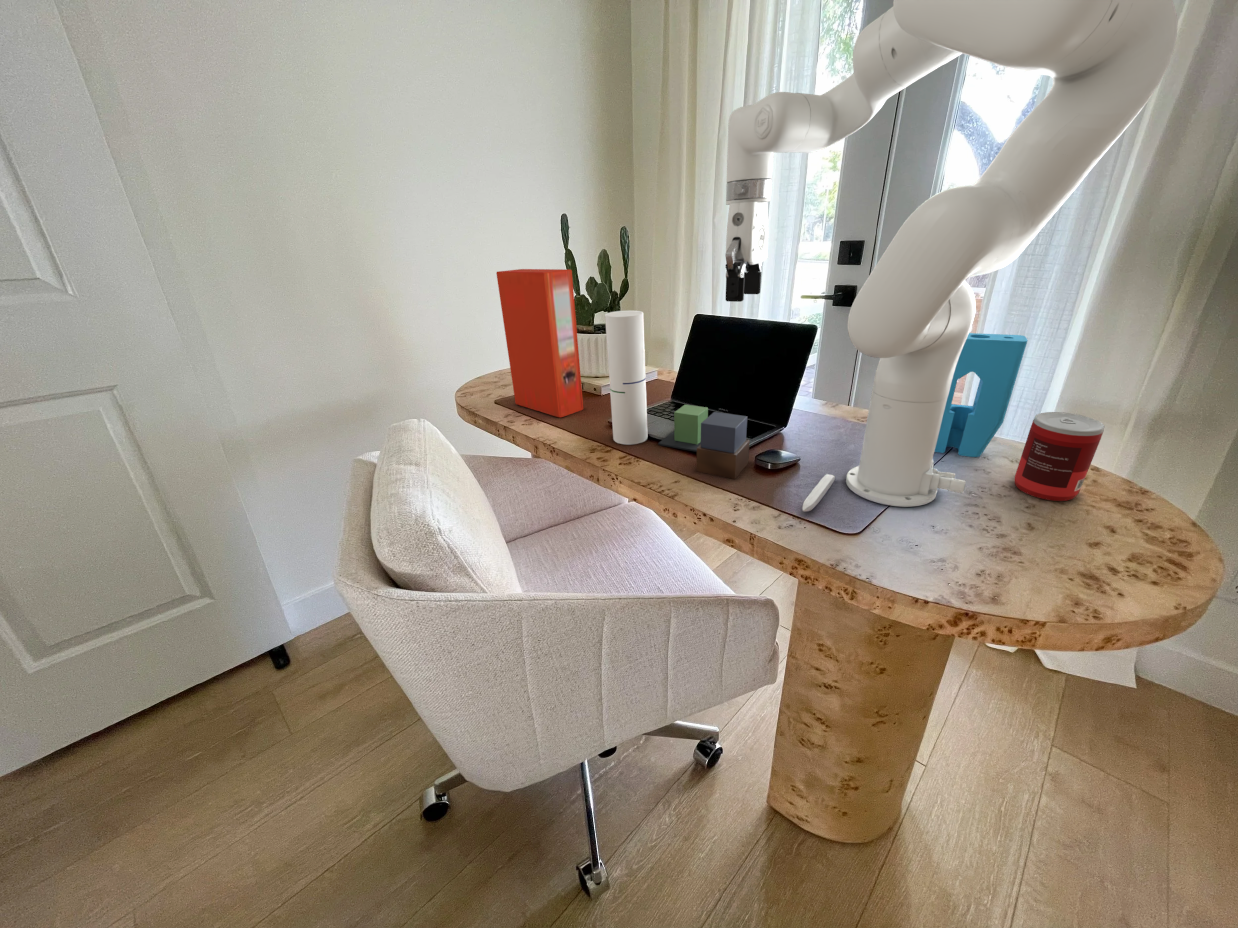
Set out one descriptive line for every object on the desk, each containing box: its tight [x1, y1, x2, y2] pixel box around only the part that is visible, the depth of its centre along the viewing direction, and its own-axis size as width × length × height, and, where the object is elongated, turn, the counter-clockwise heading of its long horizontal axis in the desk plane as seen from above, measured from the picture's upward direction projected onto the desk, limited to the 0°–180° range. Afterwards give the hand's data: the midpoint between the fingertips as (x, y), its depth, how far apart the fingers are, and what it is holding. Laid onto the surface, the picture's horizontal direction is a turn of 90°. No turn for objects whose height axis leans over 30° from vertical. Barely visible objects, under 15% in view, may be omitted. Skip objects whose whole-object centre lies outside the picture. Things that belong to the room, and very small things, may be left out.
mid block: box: [701, 411, 748, 453], centre depth 84 cm, size 6×6×4 cm
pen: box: [801, 473, 836, 512], centre depth 75 cm, size 2×14×2 cm, turn 143°
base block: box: [696, 438, 751, 480], centre depth 86 cm, size 7×7×4 cm
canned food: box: [1014, 411, 1105, 502], centre depth 72 cm, size 8×8×11 cm
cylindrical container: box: [604, 309, 649, 446], centre depth 96 cm, size 7×7×25 cm
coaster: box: [657, 430, 701, 453], centre depth 99 cm, size 10×10×1 cm
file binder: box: [496, 268, 584, 419], centre depth 116 cm, size 8×17×32 cm, turn 47°
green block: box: [673, 404, 709, 444], centre depth 97 cm, size 5×5×6 cm
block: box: [934, 332, 1029, 458], centre depth 84 cm, size 12×5×20 cm, turn 59°
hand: (743, 297), depth 92 cm, fingers open, 9 cm apart
